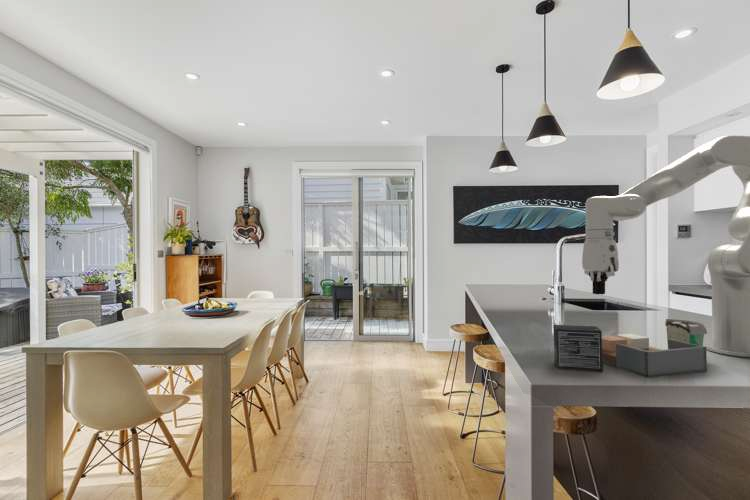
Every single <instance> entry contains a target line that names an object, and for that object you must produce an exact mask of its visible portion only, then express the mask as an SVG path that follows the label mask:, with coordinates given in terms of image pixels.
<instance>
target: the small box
mask: <svg viewBox="0 0 750 500" xmlns="http://www.w3.org/2000/svg"><path fill="white" fill-rule="evenodd" d="M602 334H603V331H602V330H601V329H600V328H599V327H597V326H592V325H572V324H571V325H569V324H568V325H567V324H566V325H565V324H553V350H554V351H553V353H554V355H553V356H554V358H553V359H554V361H553V362H554V364H555V366H556V368H557V369H559V370H560V369H561V370H573V371H574V370H575V371H582V372H583V371H586V372H595V373H597V372H599V373H603V372H604V366H603V365H604V362H603V361H602V336H603V335H602Z"/></svg>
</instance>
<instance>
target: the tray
mask: <svg viewBox="0 0 750 500" xmlns="http://www.w3.org/2000/svg"><path fill="white" fill-rule="evenodd" d="M707 358H708V357H707V349H706V346H704V345H703V346H699V345H695V344H690V343H686V342H682V341H677V340H673V339H669V349H668V348H667V349H662V350H656V351H644V350H641V349H637V348H633V347H630V346H626V345H623V344H619V343H617V344H616V366H615V367H616V368H620V369H622V370H625V371H628V372H631V373H634V374H635V375H639V376H642V377H645V378H647V379H648V378H656V377H657V378H659V377H667V376H676V375H687V374H694V373H703V372H704V373H705V372H707V371H708V370H707V368H708V367H707V365H708V364H707Z"/></svg>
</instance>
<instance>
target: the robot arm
mask: <svg viewBox="0 0 750 500" xmlns="http://www.w3.org/2000/svg"><path fill="white" fill-rule="evenodd" d="M730 166H731V167H732V168H731V169H732V171H733V173H734V175H736V176H737V178H738V179H739V180H740V182H741V184H742V185H743V192H742V195H741V199H740V201H739V202H738V205H737V207H736V209H735V211H734V213H733V215H732V217H731V219H730V221H729V225H728V233H729V235H730V236H731V237H732V238H733V239H734V240H737V241H741V242H743V243H728V244H727V243H726V244H722V245H719V246H716V247H715V248H714V249H713V250H711V251H710V252H709V255H708V257H707V268H708V271H709V277H710V283H711V326H712V327H711V328H712V329H711V331H712V339H711V340H712V342H708V343H706V344H705V347H706V350H708V351H710V352H713V353H717V354H721V355H726V356H731V357H732V356H733V357H740V358H750V135H749V136H748V135H726V136H720V137H717V138H716V139H713V140H711V141H709V142H707V143H704V144H701V146H698V147H697V148H695V149H693V150H692V151H690V152H688V153H687V154H686V155H683V156H682V157H681V158H678V159H676V160H675V161H674V162H672V163H671V164H669V165H667V166H666V167H664V168H662V169H661V170H659V171H657V172H656V173H654V174H652V175H651V176H650V177H648V178H646V179H645V180H643V181H641V182H639V183H638V184H637V185H635V186H633V187H631V188H629V189H628V190H627V191H624V192H623V193H621V194H620V195H615V196H613V195H612V196H607V195H600V196H598V195H597V196H592V197H588V198H587V199H586V201H585V240H584V244H583V248H582V257H581V258H582V261H581V262H582V264H581V265H582V270H584V272H583V273H584V274H585V275H587V276H589V277H590V281H592V294H594V295H605V294H606V282H607V281H608V279H609V278H610V277H614V276H615V275H616V272H618V270H619V265H620V264H619V262H620V261H619V252H618V245H617V241H616V240H615V239H614V236H615V235H616V233H615V231H614V221H617V222H623V221H627V220H633V219H636V218H638V217H640V216H641V215H643V214H644V212H645V211H646V209H647V207H648V206H650V205H652V204H654V203H657V202H658V201H661V200H664V199H667V198H670V197H673V196H675V195H677V194H679V193H682V192H683V191H685V190H687V189H688V188H689V187H692V186H693V185H695V184H697V183H698V182H700V181H702V180H703V179H705V178H707V177H709V176H710V175H712V174H714V173H716V172H717V171H719V170H721V169H723V168H727V167H730Z"/></svg>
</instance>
